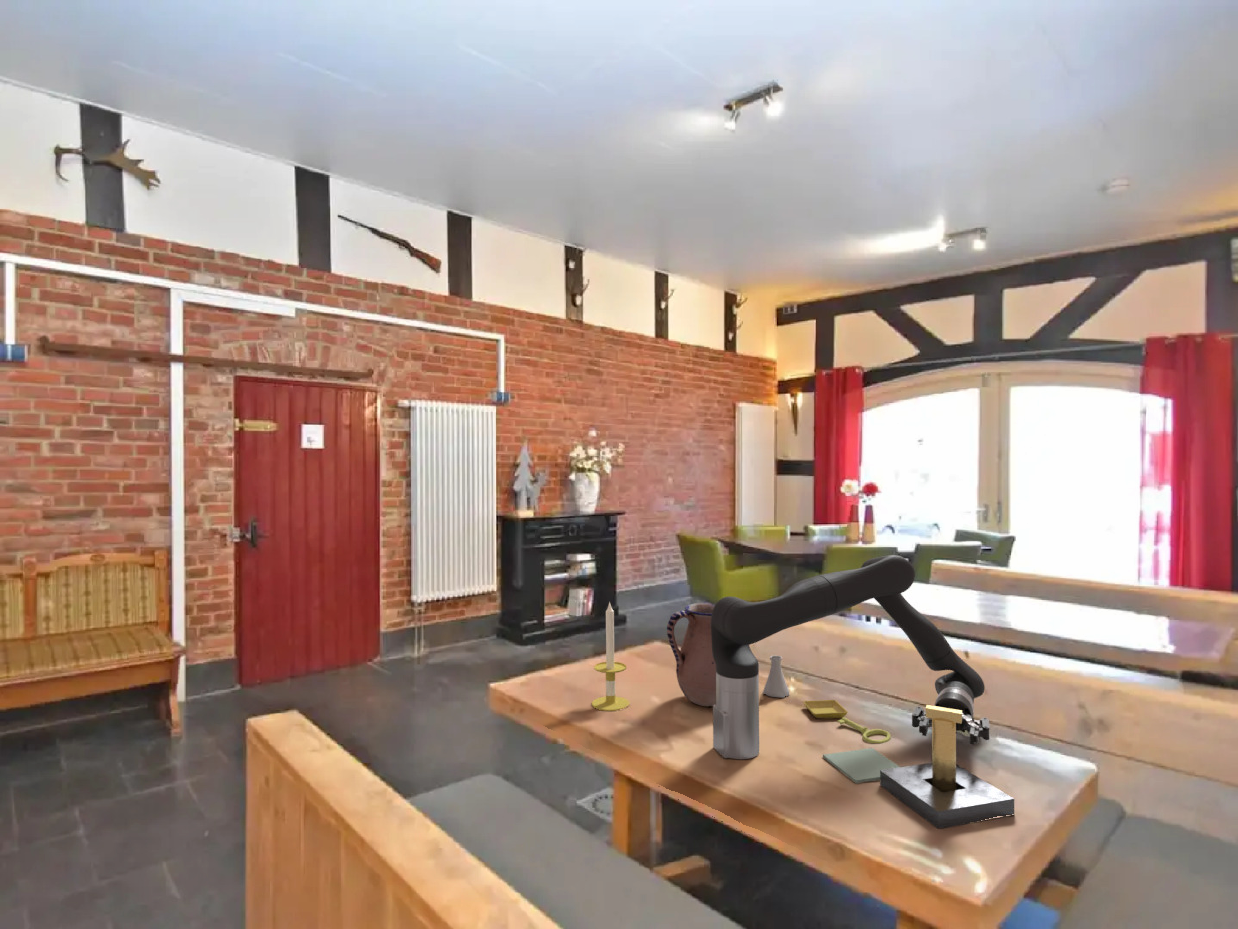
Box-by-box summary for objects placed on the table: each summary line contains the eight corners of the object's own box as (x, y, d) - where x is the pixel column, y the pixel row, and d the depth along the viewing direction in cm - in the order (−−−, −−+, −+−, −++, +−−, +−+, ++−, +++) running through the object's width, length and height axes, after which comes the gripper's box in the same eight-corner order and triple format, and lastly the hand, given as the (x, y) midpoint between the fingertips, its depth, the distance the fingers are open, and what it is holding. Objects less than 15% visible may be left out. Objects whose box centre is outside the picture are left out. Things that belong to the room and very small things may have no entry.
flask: (784, 700, 179) (784, 662, 179) (758, 695, 183) (758, 658, 183) (793, 692, 185) (793, 655, 185) (767, 687, 189) (767, 651, 189)
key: (841, 724, 163) (841, 715, 163) (893, 738, 156) (893, 729, 155) (829, 734, 158) (829, 725, 158) (883, 749, 150) (883, 739, 150)
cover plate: (938, 829, 117) (938, 811, 117) (880, 785, 132) (880, 770, 132) (1014, 815, 121) (1014, 798, 121) (949, 775, 136) (949, 760, 136)
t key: (925, 800, 126) (925, 709, 126) (927, 791, 130) (927, 703, 130) (961, 808, 123) (961, 715, 123) (962, 799, 127) (962, 708, 127)
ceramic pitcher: (758, 704, 176) (757, 608, 176) (696, 722, 164) (695, 619, 164) (712, 685, 191) (711, 597, 190) (652, 701, 179) (651, 607, 179)
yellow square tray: (813, 722, 165) (813, 713, 165) (802, 708, 174) (802, 700, 174) (848, 721, 166) (848, 712, 166) (835, 707, 174) (835, 699, 174)
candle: (626, 712, 172) (625, 606, 171) (587, 710, 173) (586, 604, 173) (632, 698, 181) (631, 597, 181) (596, 696, 183) (594, 596, 183)
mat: (856, 783, 133) (856, 780, 133) (822, 757, 145) (822, 754, 145) (908, 775, 136) (908, 772, 136) (871, 750, 148) (871, 748, 148)
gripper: (918, 686, 152) (908, 710, 138) (991, 697, 144) (988, 723, 130) (918, 719, 152) (908, 746, 138) (991, 732, 144) (988, 762, 130)
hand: (947, 735), depth 134 cm, fingers open, 8 cm apart
